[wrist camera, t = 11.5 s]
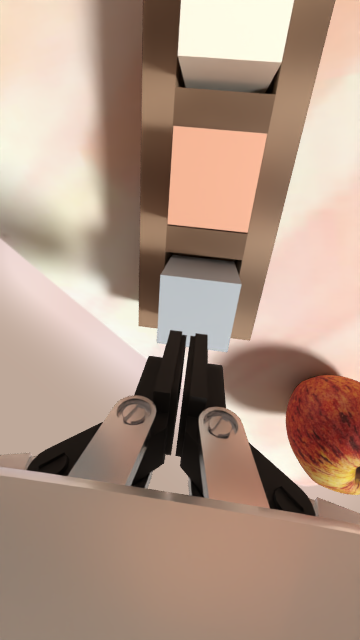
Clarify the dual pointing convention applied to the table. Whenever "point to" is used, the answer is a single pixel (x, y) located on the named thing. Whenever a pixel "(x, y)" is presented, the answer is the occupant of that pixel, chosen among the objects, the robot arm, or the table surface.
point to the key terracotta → (214, 177)
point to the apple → (327, 431)
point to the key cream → (232, 43)
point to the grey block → (198, 299)
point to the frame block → (222, 114)
